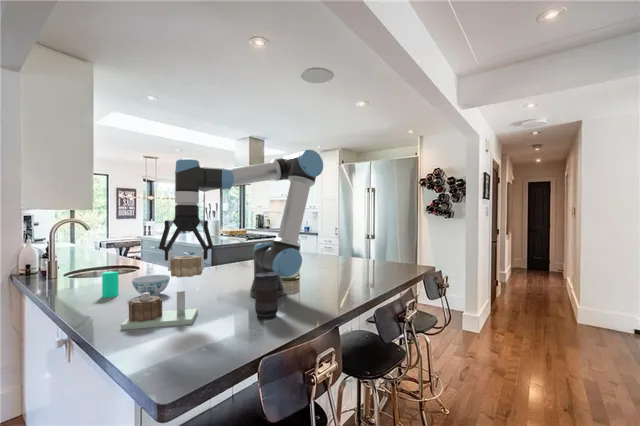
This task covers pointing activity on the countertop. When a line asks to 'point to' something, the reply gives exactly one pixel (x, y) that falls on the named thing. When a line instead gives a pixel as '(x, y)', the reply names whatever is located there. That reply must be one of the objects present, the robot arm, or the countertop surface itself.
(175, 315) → the gear board
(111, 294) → the candle
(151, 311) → the walnut gear
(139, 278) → the chinaware
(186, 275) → the maple gear
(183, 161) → the robot arm
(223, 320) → the countertop surface
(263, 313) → the camera lens
